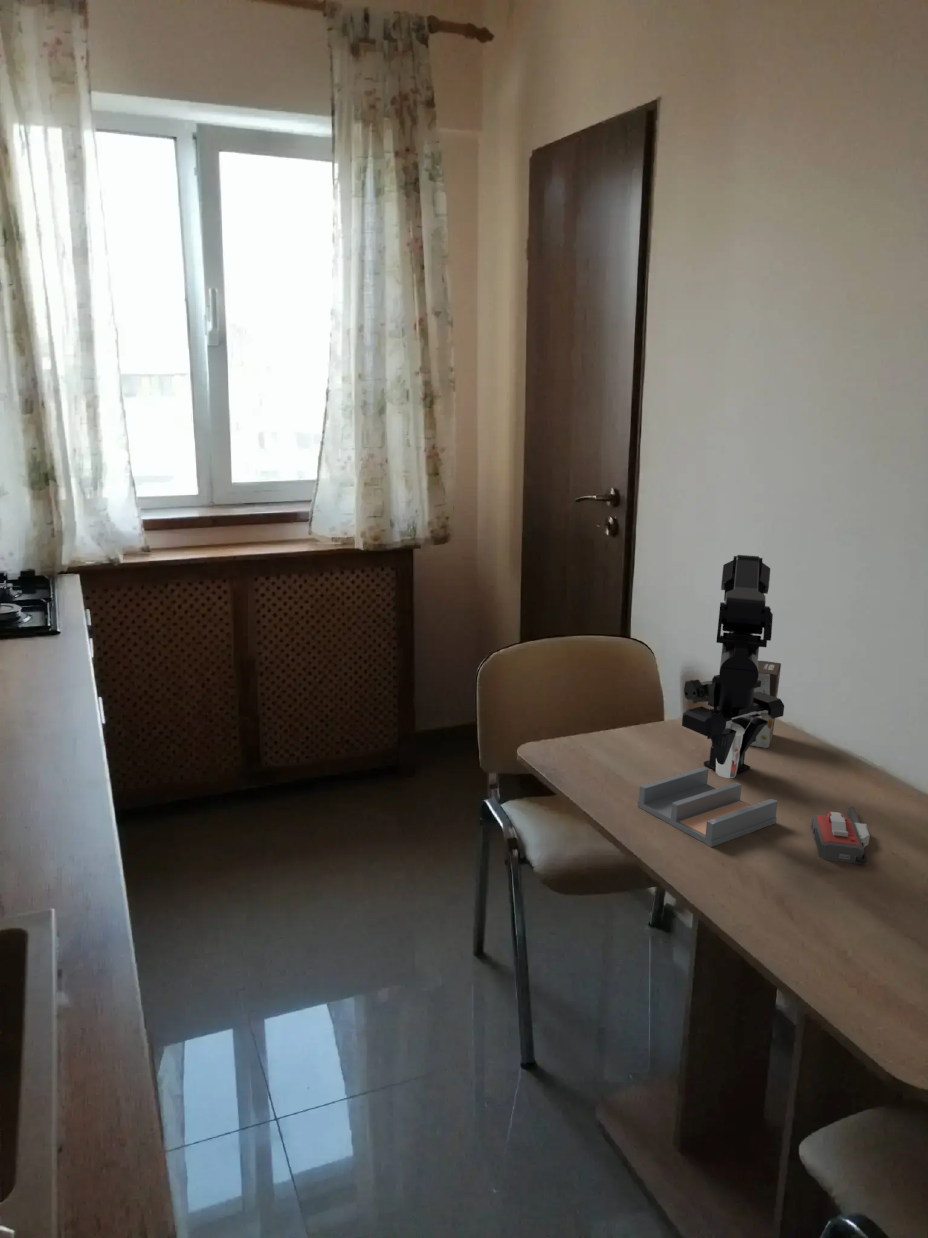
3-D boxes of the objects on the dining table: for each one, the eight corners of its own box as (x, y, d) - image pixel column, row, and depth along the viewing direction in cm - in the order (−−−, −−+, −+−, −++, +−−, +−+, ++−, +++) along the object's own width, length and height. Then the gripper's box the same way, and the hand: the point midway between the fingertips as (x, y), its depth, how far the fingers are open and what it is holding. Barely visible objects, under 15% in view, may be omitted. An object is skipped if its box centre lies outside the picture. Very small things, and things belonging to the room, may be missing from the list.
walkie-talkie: (879, 872, 143) (856, 815, 162) (882, 846, 142) (859, 792, 161) (819, 865, 145) (804, 809, 164) (822, 839, 144) (806, 786, 163)
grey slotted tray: (700, 786, 171) (702, 766, 170) (776, 823, 158) (778, 801, 156) (637, 806, 163) (639, 785, 162) (711, 847, 149) (713, 824, 148)
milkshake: (746, 782, 152) (752, 725, 150) (712, 778, 153) (718, 722, 151) (743, 771, 157) (749, 715, 154) (711, 767, 158) (716, 712, 155)
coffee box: (769, 749, 189) (777, 674, 185) (737, 744, 192) (744, 670, 188) (773, 734, 198) (781, 662, 193) (742, 729, 200) (750, 658, 196)
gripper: (737, 651, 162) (729, 734, 166) (661, 668, 152) (654, 756, 156) (790, 668, 153) (780, 756, 157) (712, 687, 143) (704, 780, 147)
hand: (729, 761), depth 154 cm, fingers closed on milkshake, 4 cm apart
